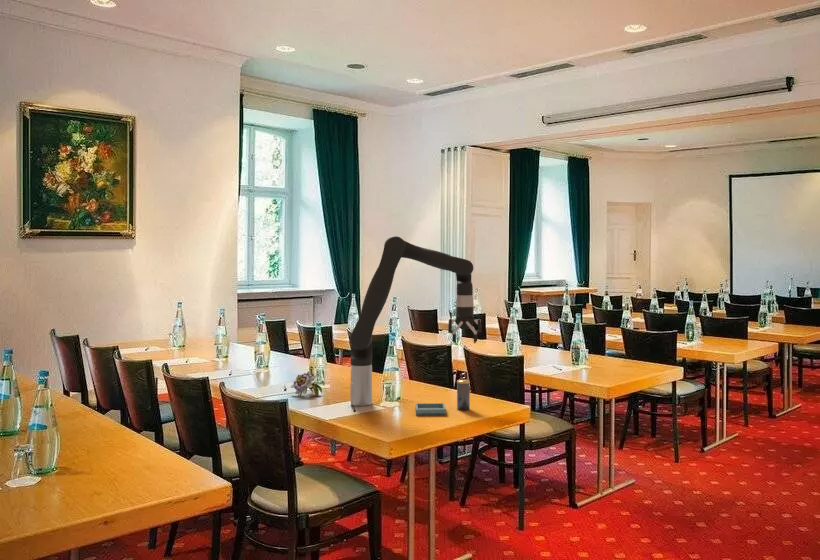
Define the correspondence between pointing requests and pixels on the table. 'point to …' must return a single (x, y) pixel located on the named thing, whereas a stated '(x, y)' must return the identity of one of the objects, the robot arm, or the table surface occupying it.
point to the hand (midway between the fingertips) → (464, 342)
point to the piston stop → (463, 395)
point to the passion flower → (306, 384)
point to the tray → (430, 409)
